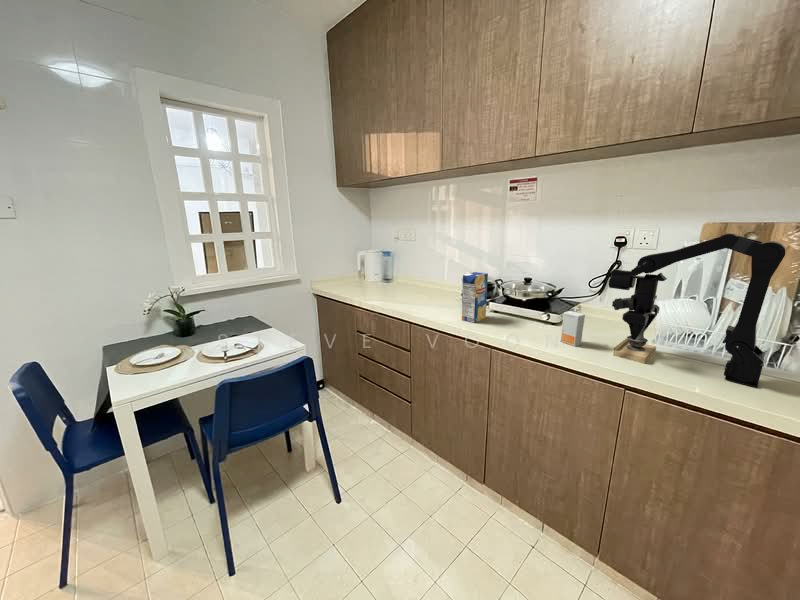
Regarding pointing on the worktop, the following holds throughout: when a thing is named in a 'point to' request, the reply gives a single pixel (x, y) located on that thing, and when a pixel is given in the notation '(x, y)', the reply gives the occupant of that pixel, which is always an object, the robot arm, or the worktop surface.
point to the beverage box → (474, 296)
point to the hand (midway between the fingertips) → (637, 336)
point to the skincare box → (572, 328)
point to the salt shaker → (637, 342)
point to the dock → (634, 352)
